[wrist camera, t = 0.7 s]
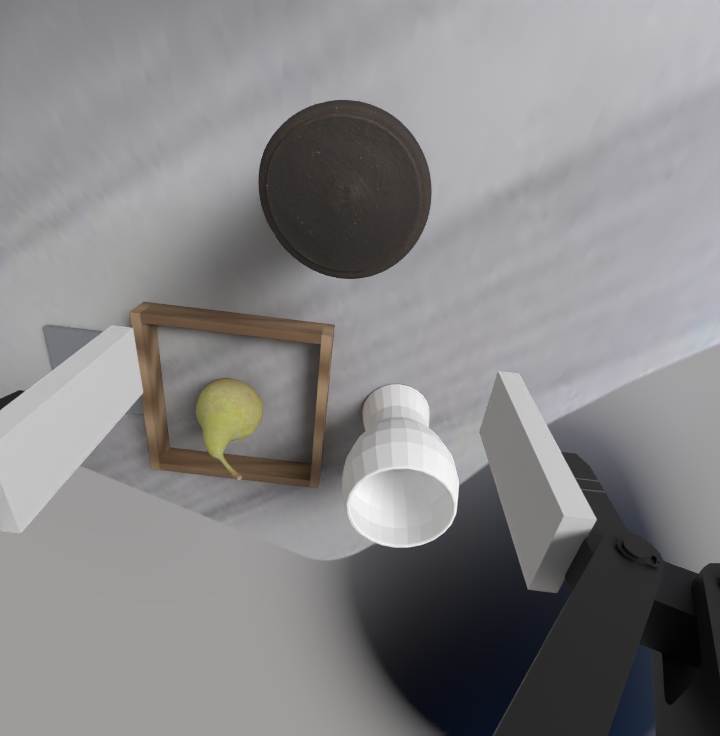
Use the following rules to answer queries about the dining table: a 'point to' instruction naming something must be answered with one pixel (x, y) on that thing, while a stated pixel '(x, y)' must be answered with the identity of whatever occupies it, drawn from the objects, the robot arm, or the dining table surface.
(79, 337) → the slate coaster
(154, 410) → the walnut frame
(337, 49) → the dining table surface
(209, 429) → the fruit
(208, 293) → the dining table surface
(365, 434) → the cup
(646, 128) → the dining table surface
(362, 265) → the container
